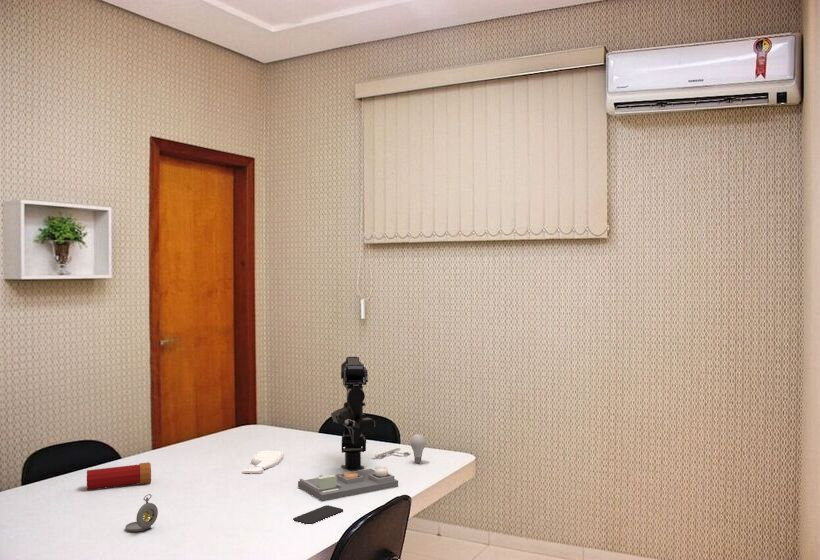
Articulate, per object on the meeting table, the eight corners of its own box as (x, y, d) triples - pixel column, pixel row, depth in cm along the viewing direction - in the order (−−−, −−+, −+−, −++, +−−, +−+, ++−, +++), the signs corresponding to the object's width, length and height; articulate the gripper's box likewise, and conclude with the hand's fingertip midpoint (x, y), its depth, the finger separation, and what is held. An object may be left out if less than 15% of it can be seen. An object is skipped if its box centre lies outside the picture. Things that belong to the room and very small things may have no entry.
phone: (291, 518, 194) (326, 504, 206) (291, 521, 194) (326, 507, 206) (309, 524, 190) (345, 509, 202) (309, 527, 190) (345, 512, 202)
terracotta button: (341, 479, 228) (341, 473, 228) (353, 477, 230) (353, 471, 230) (348, 482, 224) (348, 476, 224) (360, 480, 226) (360, 474, 226)
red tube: (151, 485, 228) (151, 465, 228) (86, 492, 220) (86, 471, 220) (150, 480, 234) (150, 460, 235) (87, 486, 226) (87, 465, 227)
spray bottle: (286, 458, 266) (267, 476, 241) (258, 457, 267) (238, 475, 242) (286, 450, 266) (267, 468, 241) (258, 450, 267) (238, 467, 242)
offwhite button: (372, 474, 229) (372, 468, 229) (383, 472, 231) (383, 466, 231) (379, 477, 225) (379, 471, 225) (390, 475, 227) (390, 469, 227)
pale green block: (316, 488, 217) (316, 477, 217) (333, 485, 221) (333, 474, 221) (319, 490, 215) (319, 479, 215) (336, 487, 219) (336, 476, 219)
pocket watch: (130, 524, 190) (130, 489, 190) (160, 524, 191) (160, 488, 191) (120, 535, 182) (120, 498, 182) (152, 534, 183) (152, 497, 183)
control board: (298, 487, 226) (298, 476, 226) (370, 474, 242) (370, 464, 242) (322, 501, 211) (322, 490, 211) (398, 486, 227) (398, 476, 227)
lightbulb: (424, 465, 254) (424, 436, 254) (408, 464, 255) (408, 435, 255) (427, 461, 260) (427, 433, 260) (411, 460, 261) (411, 432, 261)
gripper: (322, 398, 240) (322, 441, 240) (347, 406, 225) (347, 452, 225) (349, 395, 247) (349, 437, 247) (375, 402, 231) (375, 448, 231)
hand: (354, 444), depth 237 cm, fingers closed
